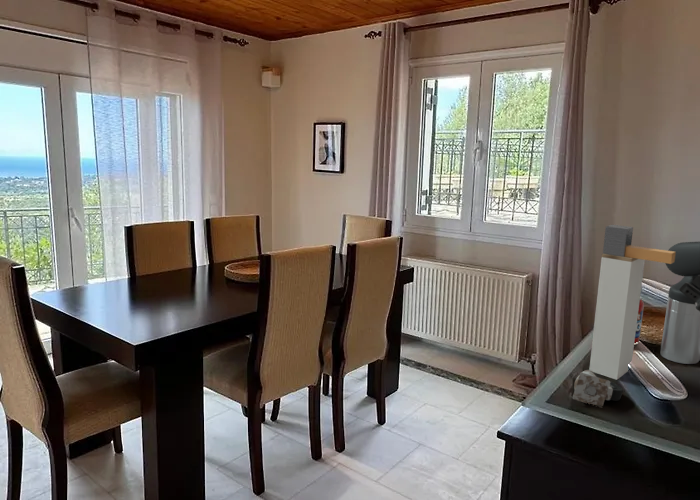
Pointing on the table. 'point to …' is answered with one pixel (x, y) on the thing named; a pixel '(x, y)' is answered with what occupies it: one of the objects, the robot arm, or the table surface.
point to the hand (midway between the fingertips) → (688, 281)
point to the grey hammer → (620, 245)
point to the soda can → (639, 320)
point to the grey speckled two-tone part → (595, 389)
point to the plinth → (616, 315)
